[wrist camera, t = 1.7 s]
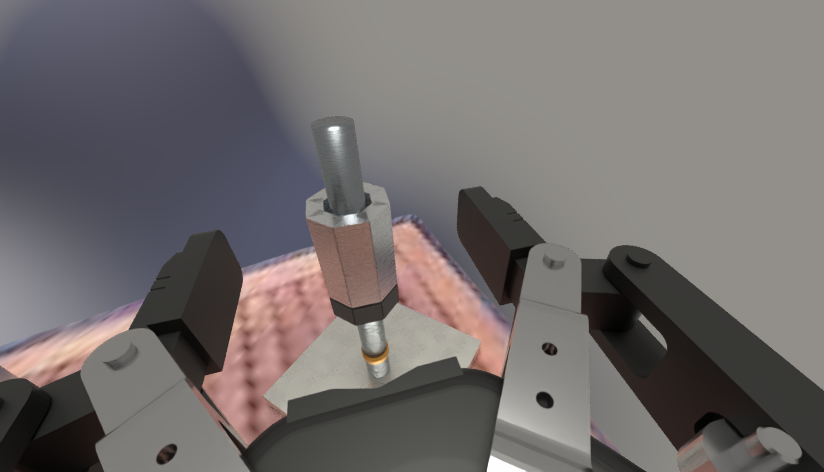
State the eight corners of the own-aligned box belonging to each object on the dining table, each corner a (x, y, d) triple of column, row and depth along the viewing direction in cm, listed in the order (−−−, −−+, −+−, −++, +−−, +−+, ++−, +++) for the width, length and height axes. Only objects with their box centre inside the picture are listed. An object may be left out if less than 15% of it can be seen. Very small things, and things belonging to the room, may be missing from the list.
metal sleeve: (314, 289, 27) (288, 211, 22) (356, 250, 31) (342, 176, 26) (368, 316, 25) (353, 235, 20) (407, 270, 29) (402, 193, 24)
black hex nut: (320, 307, 29) (315, 292, 27) (360, 267, 32) (357, 253, 31) (372, 334, 26) (369, 319, 25) (408, 288, 30) (407, 273, 29)
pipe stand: (268, 404, 36) (94, 150, 17) (365, 296, 48) (325, 78, 29) (404, 509, 28) (354, 257, 10) (479, 350, 40) (521, 101, 22)
